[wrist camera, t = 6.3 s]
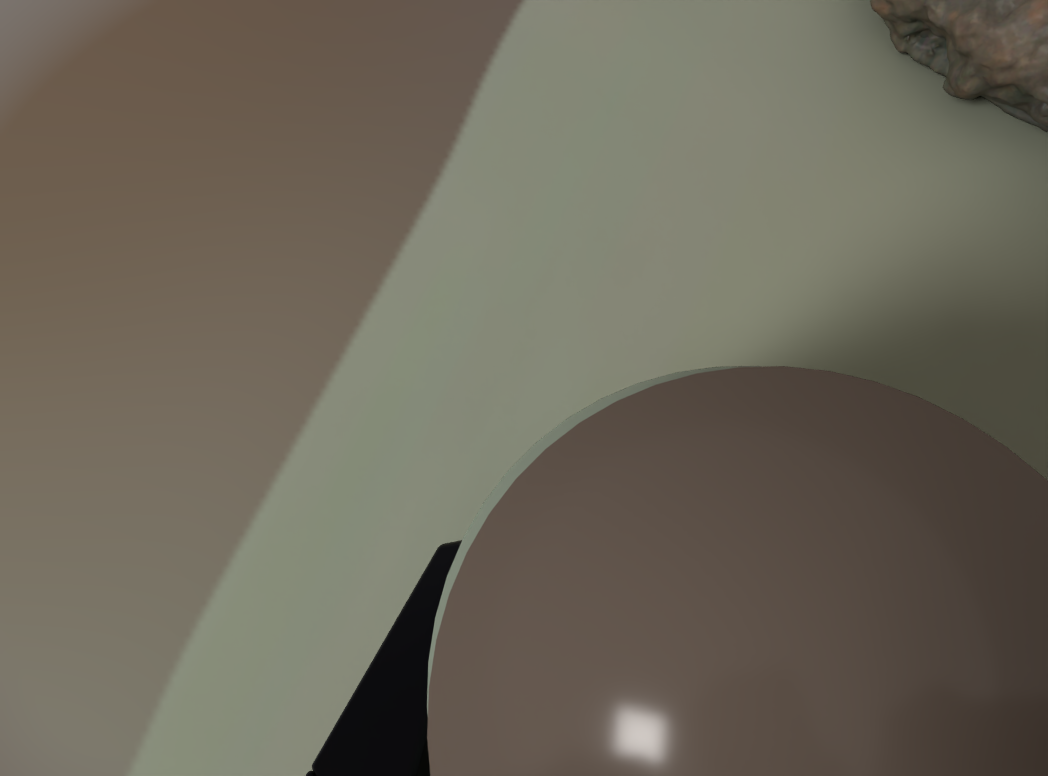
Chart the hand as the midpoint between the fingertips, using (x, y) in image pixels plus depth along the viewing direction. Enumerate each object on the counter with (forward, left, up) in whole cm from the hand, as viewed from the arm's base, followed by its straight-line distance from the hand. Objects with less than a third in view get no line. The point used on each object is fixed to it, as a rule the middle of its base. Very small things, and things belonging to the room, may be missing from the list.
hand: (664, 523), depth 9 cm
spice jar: (-1, +1, -7) cm, 7 cm away
